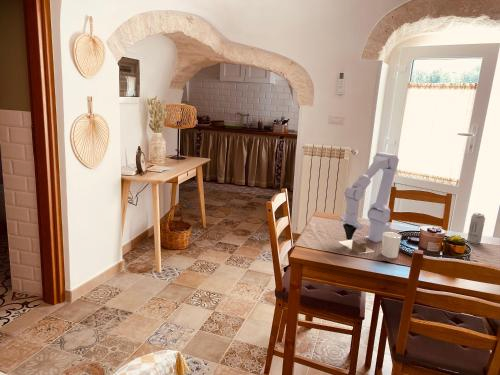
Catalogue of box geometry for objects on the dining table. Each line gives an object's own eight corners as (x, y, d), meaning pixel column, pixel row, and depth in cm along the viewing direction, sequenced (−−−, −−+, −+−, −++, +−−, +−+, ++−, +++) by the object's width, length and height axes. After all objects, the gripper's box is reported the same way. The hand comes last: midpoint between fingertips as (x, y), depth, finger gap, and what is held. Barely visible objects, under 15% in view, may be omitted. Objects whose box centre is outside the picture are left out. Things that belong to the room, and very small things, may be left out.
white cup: (396, 260, 168) (399, 239, 166) (378, 256, 172) (381, 235, 170) (400, 254, 175) (403, 234, 172) (382, 250, 179) (385, 230, 176)
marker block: (359, 248, 179) (360, 239, 178) (365, 251, 175) (366, 242, 174) (351, 249, 177) (352, 240, 176) (357, 253, 173) (359, 243, 172)
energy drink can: (464, 240, 198) (469, 213, 194) (471, 239, 201) (476, 212, 197) (475, 244, 193) (481, 216, 189) (482, 243, 195) (488, 215, 192)
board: (352, 240, 190) (352, 239, 190) (374, 252, 176) (374, 251, 176) (337, 242, 187) (337, 241, 187) (359, 254, 173) (359, 253, 172)
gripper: (335, 208, 184) (333, 234, 187) (355, 217, 171) (352, 245, 175) (347, 207, 187) (344, 233, 190) (367, 215, 174) (364, 243, 177)
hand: (348, 239), depth 183 cm, fingers closed
